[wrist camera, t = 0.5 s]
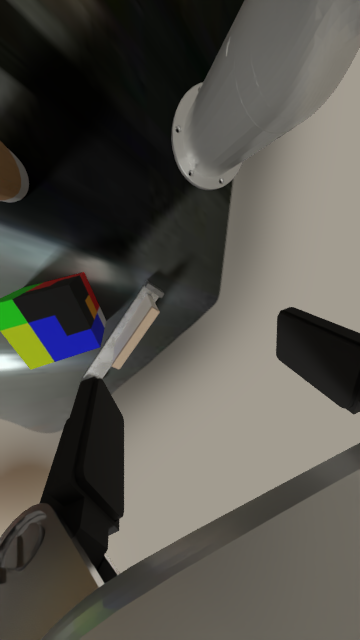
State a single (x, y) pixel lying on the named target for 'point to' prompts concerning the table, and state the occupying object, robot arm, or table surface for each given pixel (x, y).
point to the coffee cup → (12, 176)
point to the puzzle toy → (52, 320)
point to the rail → (106, 353)
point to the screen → (134, 330)
